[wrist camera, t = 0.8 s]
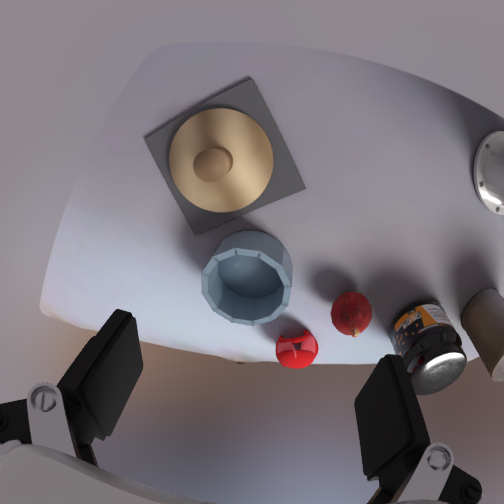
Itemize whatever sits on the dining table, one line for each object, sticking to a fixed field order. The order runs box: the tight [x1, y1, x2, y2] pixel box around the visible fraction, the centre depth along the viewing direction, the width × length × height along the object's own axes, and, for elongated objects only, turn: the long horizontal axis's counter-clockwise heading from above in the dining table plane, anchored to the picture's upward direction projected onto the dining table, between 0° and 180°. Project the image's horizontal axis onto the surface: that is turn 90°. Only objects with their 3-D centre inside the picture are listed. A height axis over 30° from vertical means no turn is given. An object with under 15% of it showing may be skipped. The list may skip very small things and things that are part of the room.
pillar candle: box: [461, 289, 504, 382], centre depth 30 cm, size 10×10×15 cm
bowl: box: [201, 230, 293, 326], centre depth 37 cm, size 11×11×6 cm
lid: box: [169, 108, 274, 212], centre depth 31 cm, size 13×13×5 cm
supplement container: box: [390, 300, 467, 395], centre depth 34 cm, size 10×10×12 cm
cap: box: [276, 330, 318, 369], centre depth 42 cm, size 8×6×6 cm
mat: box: [145, 79, 306, 235], centre depth 34 cm, size 16×15×1 cm
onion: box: [331, 292, 372, 337], centre depth 36 cm, size 6×6×8 cm
